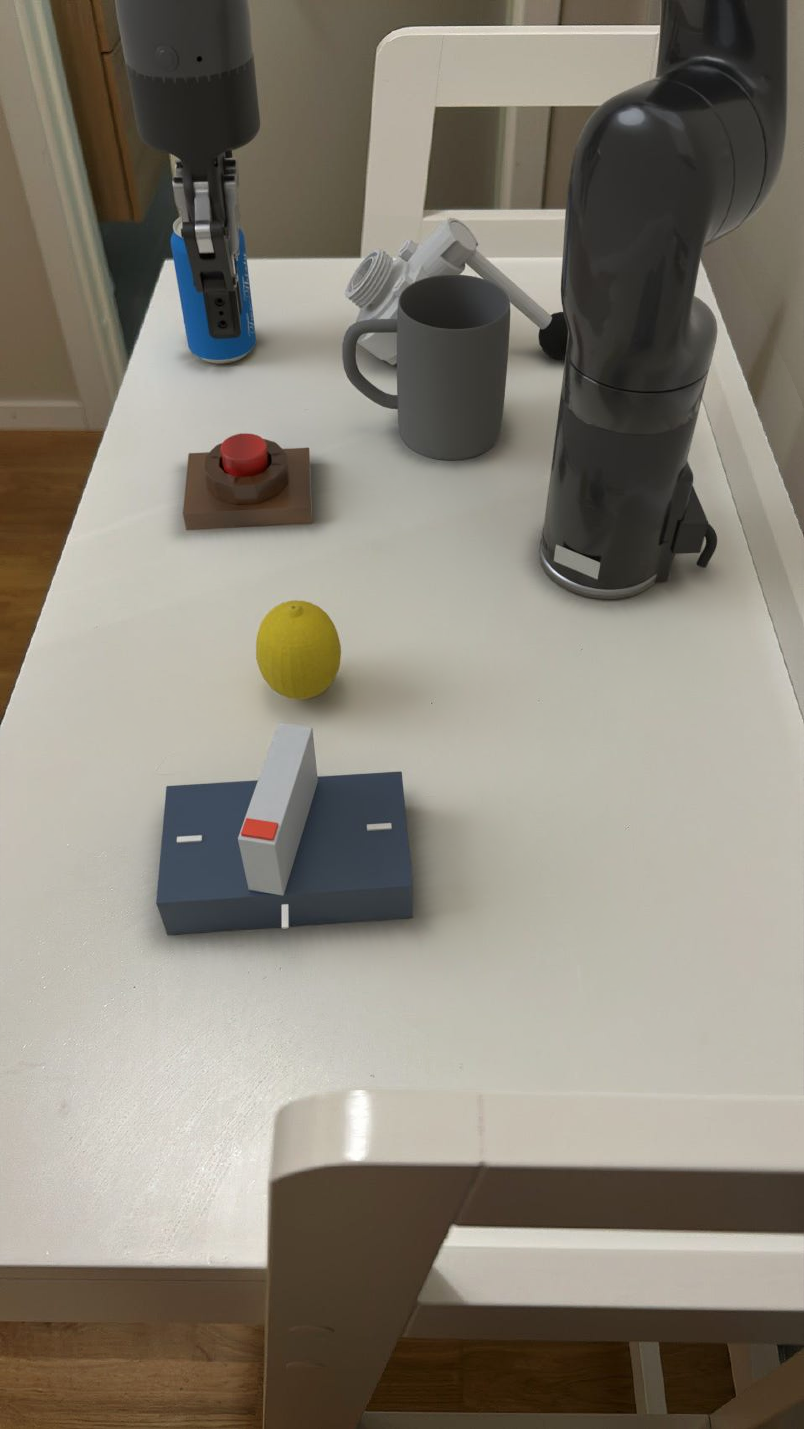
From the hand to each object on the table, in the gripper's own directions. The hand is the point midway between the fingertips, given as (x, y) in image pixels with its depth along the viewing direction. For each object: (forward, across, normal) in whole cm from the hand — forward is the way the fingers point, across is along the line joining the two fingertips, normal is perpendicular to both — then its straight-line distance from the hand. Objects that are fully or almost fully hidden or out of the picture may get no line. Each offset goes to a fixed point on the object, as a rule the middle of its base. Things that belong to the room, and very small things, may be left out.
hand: (226, 324), depth 74 cm
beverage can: (+15, +23, +3) cm, 28 cm away
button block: (+15, 0, 0) cm, 15 cm away
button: (+12, 0, 0) cm, 12 cm away
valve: (+15, +21, -20) cm, 33 cm away
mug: (+15, +8, -15) cm, 23 cm away
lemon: (+15, -22, -4) cm, 27 cm away
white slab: (+12, -36, -3) cm, 38 cm away
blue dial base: (+15, -36, -3) cm, 39 cm away
